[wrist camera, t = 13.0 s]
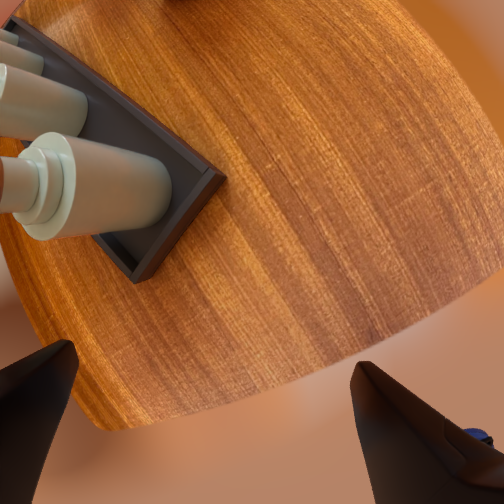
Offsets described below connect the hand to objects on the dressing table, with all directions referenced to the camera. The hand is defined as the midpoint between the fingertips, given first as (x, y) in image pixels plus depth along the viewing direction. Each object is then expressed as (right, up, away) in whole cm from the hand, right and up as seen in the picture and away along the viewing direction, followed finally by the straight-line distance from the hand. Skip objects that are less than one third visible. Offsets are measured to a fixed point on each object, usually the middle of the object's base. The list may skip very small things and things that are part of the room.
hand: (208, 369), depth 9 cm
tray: (-19, +19, +14) cm, 30 cm away
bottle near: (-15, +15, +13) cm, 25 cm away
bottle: (-6, +8, +12) cm, 16 cm away
